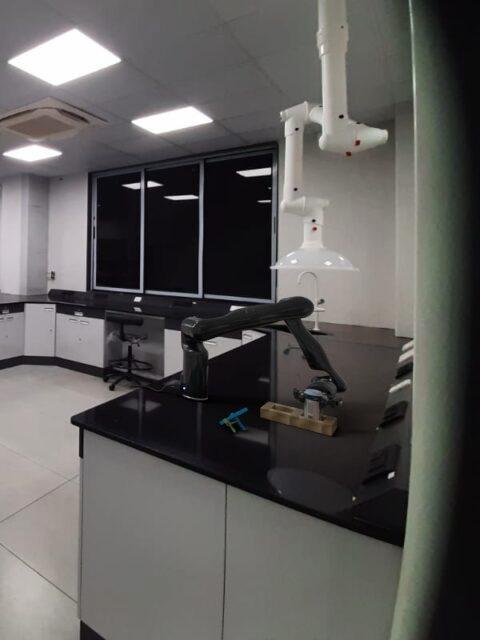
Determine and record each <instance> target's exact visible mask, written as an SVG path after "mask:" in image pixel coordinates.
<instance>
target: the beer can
mask: <svg viewBox="0 0 480 640" xmlns="http://www.w3.org/2000/svg"><path fill="white" fill-rule="evenodd" d="M305 390H306V391H305V395H304V403H303V404H304V405H303V410H304V417H307V418H311V419H315V420H319V421H322V414H323V408H321V400H322V393H321V392H320V391H318V390H314V389H307V388H306V389H305Z"/></svg>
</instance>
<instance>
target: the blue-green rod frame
mask: <svg viewBox="0 0 480 640" xmlns="http://www.w3.org/2000/svg"><path fill="white" fill-rule="evenodd" d="M247 411H249V409H248V408H247V407H244V408H242V409H240V410H238V411H235V412H234V413H233V412H231V413H230V415H229V416H228V417H226V418H223V419H222V420H220V421H219V424H220V425H221V426H222V425H224V424H225V425H226V427H229V428H230V429H231V431H232V432H233V433H237V431H236V429H235V428H234V427H233V424H237V425H238V426H239V427H240V429H241V430H242V431H244V432H245V431H246V430H247V428H246V427H245V426H244V424H243V423H242V422H241V420H240V418H239V417H240V416H241V415H242V414H244V413H246V412H247ZM232 420H233V421H232Z"/></svg>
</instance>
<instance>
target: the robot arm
mask: <svg viewBox="0 0 480 640" xmlns="http://www.w3.org/2000/svg"><path fill="white" fill-rule="evenodd" d="M314 311H315V304H314V302H313V301H312V300H311V299H309V298H308V297H305V296H302V295H295V296H289V297H284V298H281V299H279V300H278V301H277V302H274V303H264V304H256V305H255V304H254V305H249V306H245V307H244V306H243V307H239V308H236V309H233V310H231V311H229V312H227V313H226V314H225V315H222V316H220V317H214V318H200V317H196V316H188V317H186V318H184V319H183V320H182V322H181V326H180V346H181V349H182V372H181V373H180V380H178V381H175V382H173V383H168V384H165V385H164V386H163V387H162V388H161V389H156V388H154V387H152V386H148V385H142V384H141V385H136V384H135V385H130V388H134V389H135V388H136V389H137V388H139V389H141V388H143V387H145V388H143V389H147V390H151V391H153V392H155V393H162V392H164V391H165V390H166V389H167V388H168V387H173V389H175V390H179V397H183V398H184V399H186V400H190V401H194V402H207V401H208V400H209V398H208V397H209V395H208V394H209V393H208V392H209V351H208V349H207V348H206V346H205V345H204V342H207V341H211V340H214V339H217V338H220V337H223V336H226V335H230V334H236V333H241V332H245V331H251V330H255V329H259V328H262V327H267V326H270V325H273V324H276V323H279V322H282V321H283V322H284V324H285V325H286V327H287V328H288V330H289V332H290V333H291V334H292V337H294V339H295V341H296V342H297V344H298V346H299V348H300V350H301V352H302V355H303V357H304V359H305V360H306V363H307V366H308V367H309V369H310V370H312V371H319V372H325V373H327V374H323V375H315V376H313V377H311V379H310V384H309V385H308V386H307V387H306V389H314V390H318V391H320V392H321V393H322V400H321V408H322V409H324V408H327V407H329V406H330V407H331V408H333V409H334V408H335V409H336V408H339V407H342V406H343V398H342V397H336V395H337V394H342V393H345V392H346V391H347V389H348V384H347V382H346V381H345V379H344V378H343V377H342V375H341V374H340V373H339V372H338V371H337V370H336V368H335V367H334V366H333V364H332V363H331V361H330V358H329V357H328V355H327V351H326V350H325V348H324V346H323V345H322V343H321V342H320V341H319V340H318V339H317V338H316V337H315V336H314V335H313V334H312V333H311V332H310V331H309V330H308V328H307V327H306V326H305V324H304V322H303V320H302V319H306V318H308V317H310V316H311V315H313V313H314ZM306 389H303V390H302V391H301V390H300V389H298V388H296V387H293V391H292V392H293V393H292V395H293V398H294V399H295V400H298V402H299V403H301V404H304V395H305V391H306Z"/></svg>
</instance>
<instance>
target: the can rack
mask: <svg viewBox="0 0 480 640" xmlns="http://www.w3.org/2000/svg"><path fill="white" fill-rule="evenodd" d="M259 411H260V412H259V413H260V416H259V417H260V418H261V419H266V420H269V421H272V422H276V423H280V424H284V425H288V426H291V427H295V428H299V429H303V430H307V431H311V432H315V433H318V434H321V435H325V436H329V437H332V436H333V435H334V433H335V432H336V430H337V428H338V417H336V416H331V415H327V414H323V413H322V421H319V420H315V419H311V418H307V417H304V409H302V408H297V407H294V406H289V405H285V404H280V403H276V402H272V401H267V402H266V403H265V404H263V405H262V406H261V407H260V410H259Z"/></svg>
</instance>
